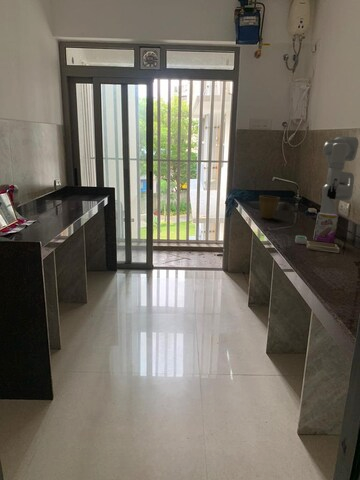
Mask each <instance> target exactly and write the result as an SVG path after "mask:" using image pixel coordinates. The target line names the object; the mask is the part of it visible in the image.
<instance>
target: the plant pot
mask: <svg viewBox="0 0 360 480" xmlns="http://www.w3.org/2000/svg"><path fill="white" fill-rule="evenodd" d="M258 197H259V198H258V199H259V200H258V201H259V202H258V203H259V210H260V216H261V219H272V218H273V216H274V215H275V212H276V211H277V207H278V205H279V203H280V197H279V196H275V195H274V196H273V195H264V194H263V195H260V194H259V196H258Z"/></svg>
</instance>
